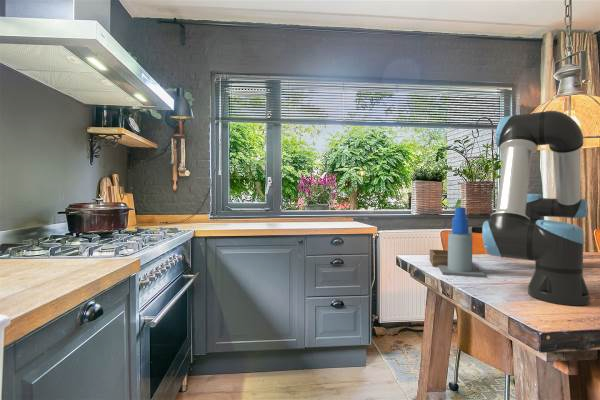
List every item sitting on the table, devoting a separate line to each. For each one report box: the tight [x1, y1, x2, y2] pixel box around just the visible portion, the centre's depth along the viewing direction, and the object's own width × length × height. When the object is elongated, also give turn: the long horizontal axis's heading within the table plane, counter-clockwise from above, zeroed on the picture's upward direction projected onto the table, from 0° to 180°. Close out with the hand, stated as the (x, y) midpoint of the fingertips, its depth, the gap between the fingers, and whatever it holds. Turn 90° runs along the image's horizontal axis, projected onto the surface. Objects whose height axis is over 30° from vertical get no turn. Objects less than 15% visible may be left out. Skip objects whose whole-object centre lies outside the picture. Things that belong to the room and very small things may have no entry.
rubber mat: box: [438, 265, 487, 278], centre depth 138 cm, size 13×15×1 cm
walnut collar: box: [429, 249, 448, 268], centre depth 153 cm, size 14×14×5 cm
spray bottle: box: [447, 206, 474, 272], centre depth 138 cm, size 9×9×25 cm
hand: (470, 232), depth 140 cm, fingers open, 13 cm apart
